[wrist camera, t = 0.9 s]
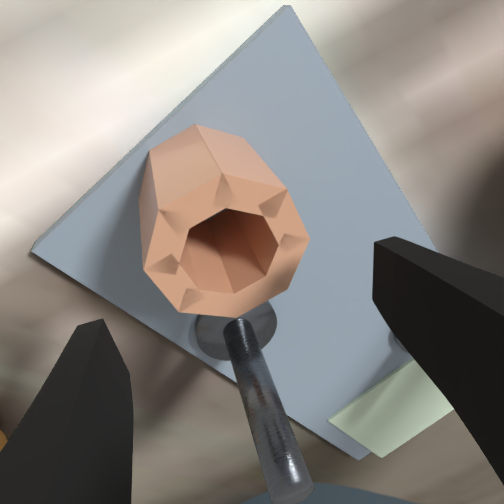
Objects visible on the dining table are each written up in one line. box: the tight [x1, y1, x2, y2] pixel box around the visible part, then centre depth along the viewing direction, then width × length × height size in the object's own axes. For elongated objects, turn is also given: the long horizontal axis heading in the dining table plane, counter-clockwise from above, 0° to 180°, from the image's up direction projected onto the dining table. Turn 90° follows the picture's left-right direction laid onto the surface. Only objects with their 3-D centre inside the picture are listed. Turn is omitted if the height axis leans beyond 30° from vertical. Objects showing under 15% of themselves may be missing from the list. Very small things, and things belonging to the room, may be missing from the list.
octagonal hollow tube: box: [139, 124, 310, 318], centre depth 15 cm, size 5×5×6 cm
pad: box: [328, 358, 454, 458], centre depth 31 cm, size 9×9×1 cm
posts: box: [195, 301, 409, 504], centre depth 20 cm, size 17×4×9 cm, turn 77°
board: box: [31, 5, 438, 461], centre depth 24 cm, size 30×14×1 cm, turn 39°
